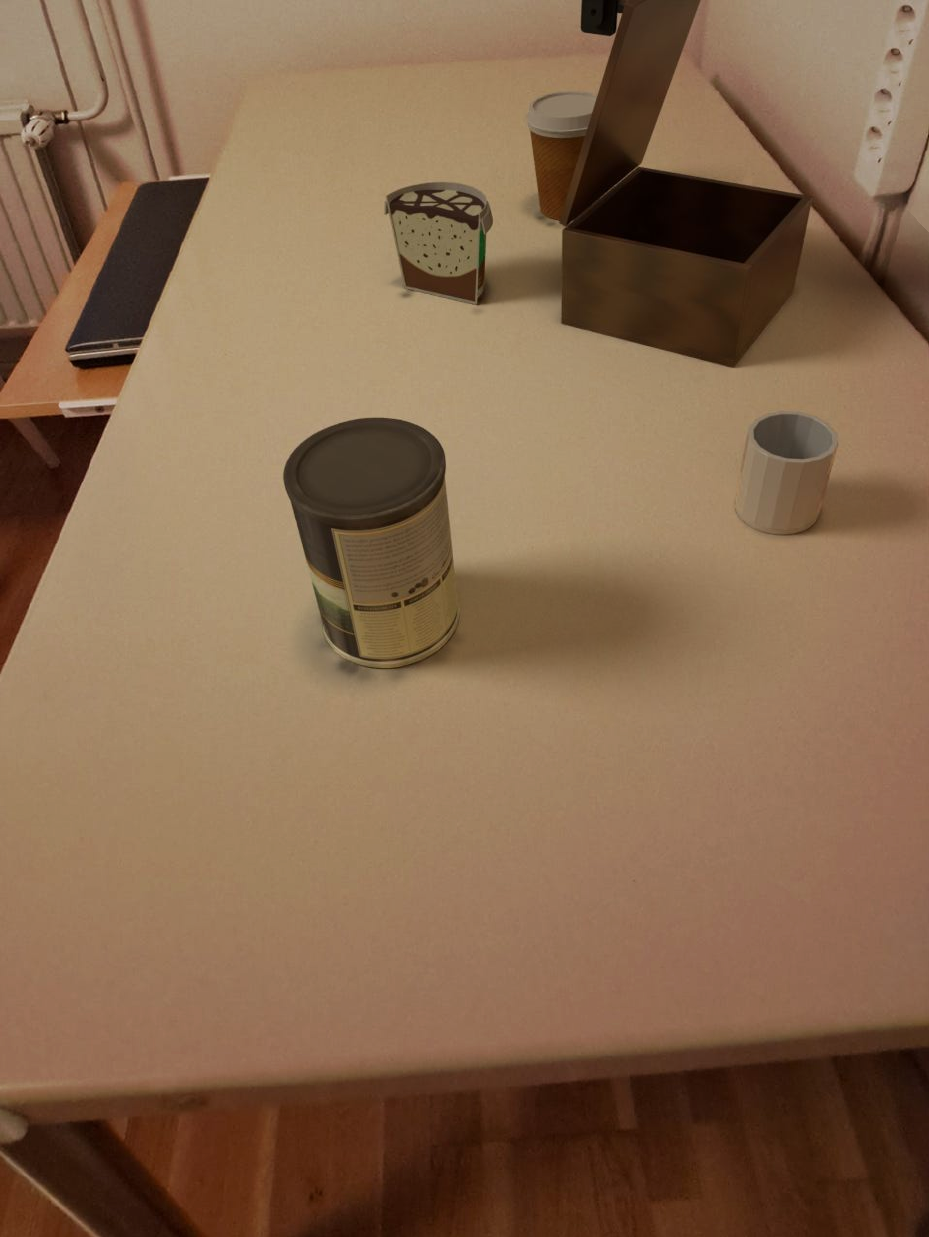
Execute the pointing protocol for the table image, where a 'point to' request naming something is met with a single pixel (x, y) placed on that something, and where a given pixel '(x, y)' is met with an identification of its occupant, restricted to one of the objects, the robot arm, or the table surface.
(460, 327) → the table surface
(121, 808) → the table surface
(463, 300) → the food container
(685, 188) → the storage chest
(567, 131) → the disposable coffee cup
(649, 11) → the chest lid
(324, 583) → the coffee can
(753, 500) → the white cup
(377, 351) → the table surface
